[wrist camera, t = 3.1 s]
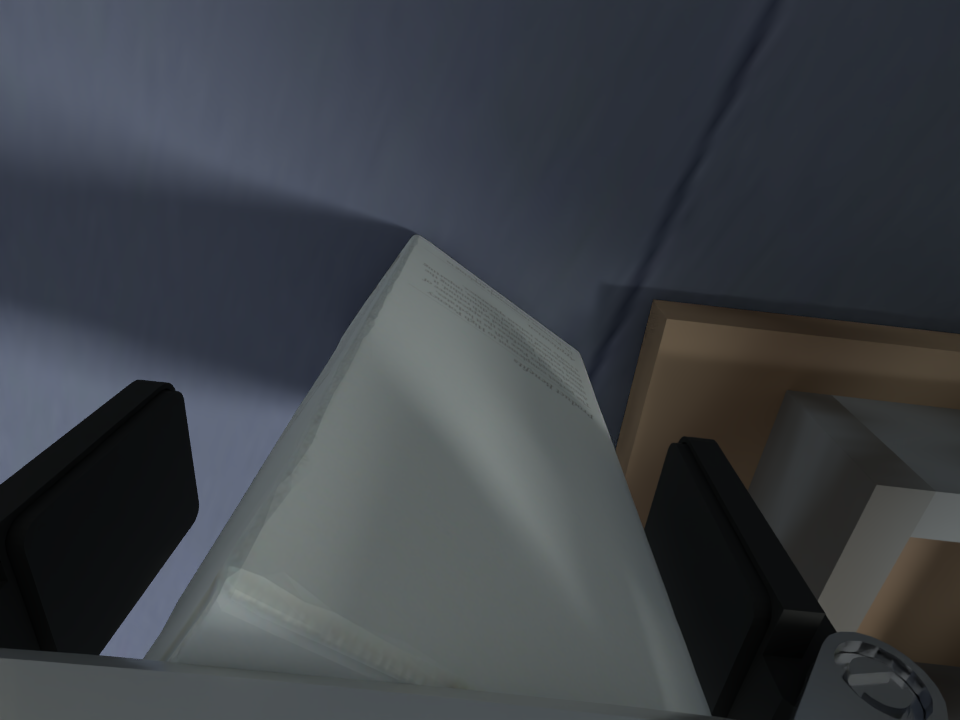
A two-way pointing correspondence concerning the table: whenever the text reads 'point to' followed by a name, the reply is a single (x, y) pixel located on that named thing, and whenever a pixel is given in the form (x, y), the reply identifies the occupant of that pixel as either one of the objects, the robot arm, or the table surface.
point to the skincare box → (442, 519)
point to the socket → (823, 457)
